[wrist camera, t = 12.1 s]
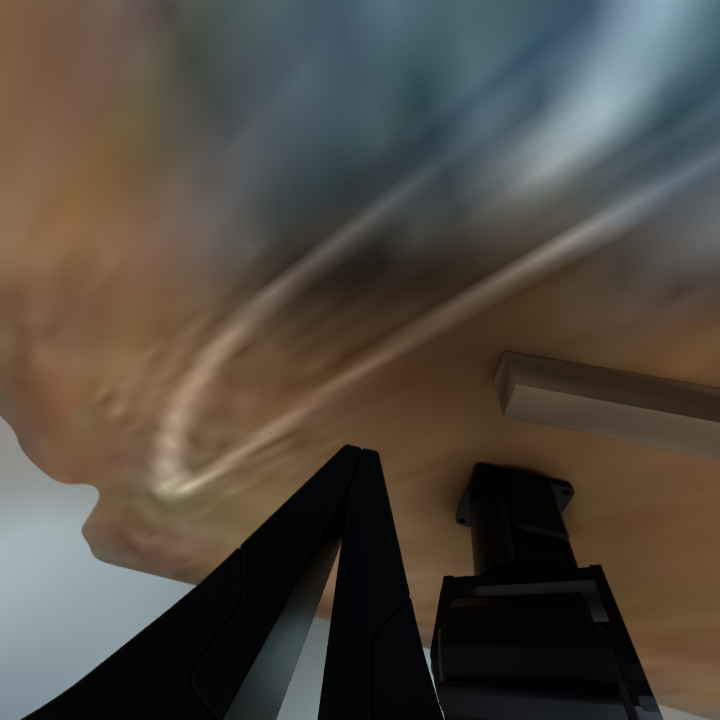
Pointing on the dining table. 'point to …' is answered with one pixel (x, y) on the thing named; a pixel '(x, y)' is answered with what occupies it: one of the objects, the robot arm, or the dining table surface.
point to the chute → (611, 403)
